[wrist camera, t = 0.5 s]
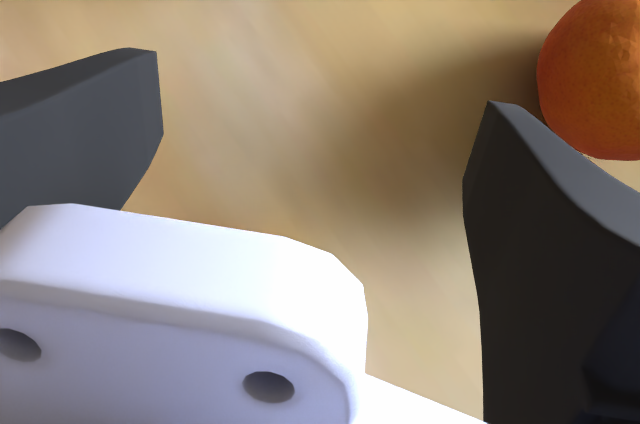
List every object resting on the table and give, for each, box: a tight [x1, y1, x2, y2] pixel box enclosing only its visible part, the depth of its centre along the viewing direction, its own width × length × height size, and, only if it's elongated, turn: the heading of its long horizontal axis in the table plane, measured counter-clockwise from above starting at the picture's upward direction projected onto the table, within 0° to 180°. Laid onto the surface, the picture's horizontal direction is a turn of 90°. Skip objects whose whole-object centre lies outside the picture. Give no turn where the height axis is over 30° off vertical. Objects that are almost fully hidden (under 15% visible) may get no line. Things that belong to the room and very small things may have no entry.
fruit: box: [537, 0, 640, 161], centre depth 33 cm, size 11×10×8 cm
